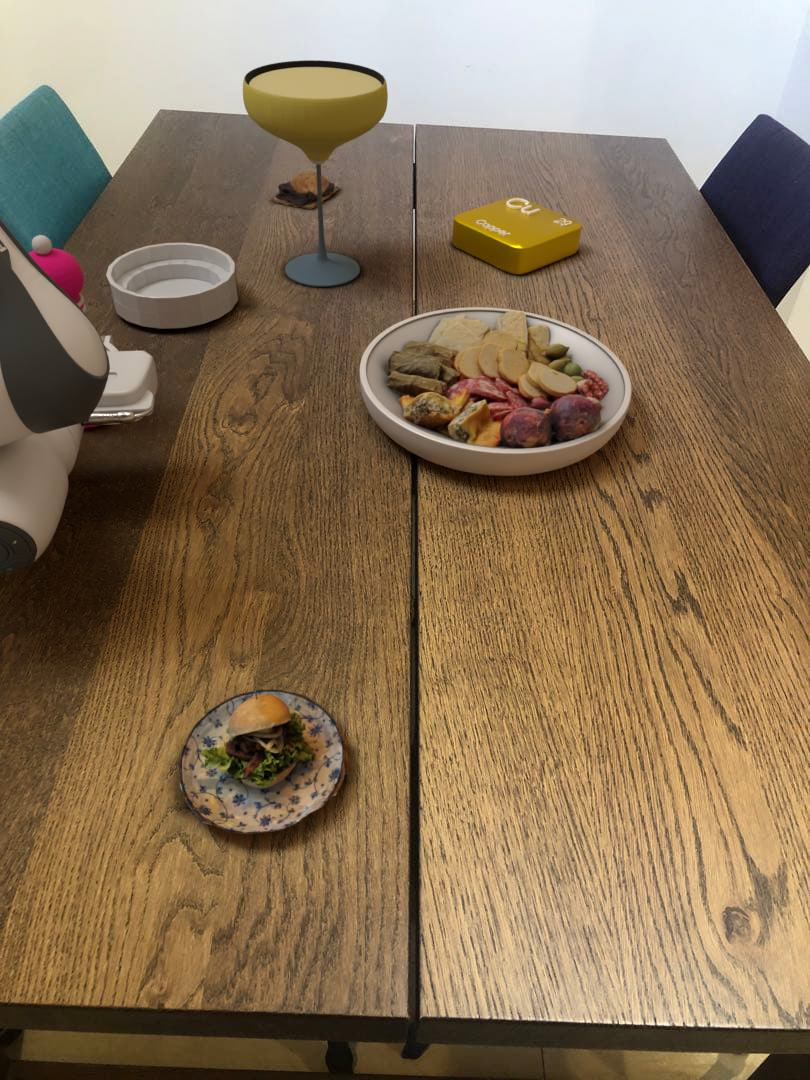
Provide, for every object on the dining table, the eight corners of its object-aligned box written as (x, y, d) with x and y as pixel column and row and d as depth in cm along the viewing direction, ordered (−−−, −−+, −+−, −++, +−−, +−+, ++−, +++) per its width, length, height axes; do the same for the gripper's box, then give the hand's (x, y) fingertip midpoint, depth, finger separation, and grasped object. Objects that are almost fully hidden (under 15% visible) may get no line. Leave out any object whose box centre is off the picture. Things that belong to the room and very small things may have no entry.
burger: (155, 831, 55) (134, 772, 50) (212, 690, 64) (199, 628, 59) (328, 860, 54) (324, 803, 49) (362, 713, 63) (362, 652, 58)
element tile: (446, 243, 127) (448, 212, 123) (511, 220, 134) (515, 190, 131) (517, 278, 119) (521, 246, 115) (583, 251, 126) (588, 220, 123)
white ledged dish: (107, 336, 103) (98, 299, 100) (122, 278, 115) (114, 244, 111) (237, 331, 105) (233, 295, 101) (239, 275, 117) (235, 241, 113)
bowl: (307, 394, 95) (304, 333, 89) (491, 319, 109) (498, 263, 104) (487, 532, 78) (496, 467, 73) (676, 423, 93) (695, 362, 88)
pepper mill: (105, 435, 88) (57, 255, 74) (42, 427, 88) (-17, 247, 75) (132, 398, 93) (92, 224, 79) (72, 391, 94) (22, 217, 80)
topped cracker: (300, 181, 144) (299, 159, 142) (342, 190, 142) (342, 168, 139) (268, 201, 137) (266, 178, 134) (312, 210, 134) (311, 187, 132)
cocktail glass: (301, 311, 109) (288, 108, 92) (237, 261, 120) (215, 70, 103) (409, 279, 117) (416, 86, 100) (341, 234, 128) (337, 53, 111)
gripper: (145, 389, 70) (159, 310, 80) (-111, 399, 67) (-64, 317, 77) (157, 448, 74) (169, 367, 84) (-83, 460, 71) (-41, 375, 81)
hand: (56, 343), depth 80 cm, fingers open, 8 cm apart
